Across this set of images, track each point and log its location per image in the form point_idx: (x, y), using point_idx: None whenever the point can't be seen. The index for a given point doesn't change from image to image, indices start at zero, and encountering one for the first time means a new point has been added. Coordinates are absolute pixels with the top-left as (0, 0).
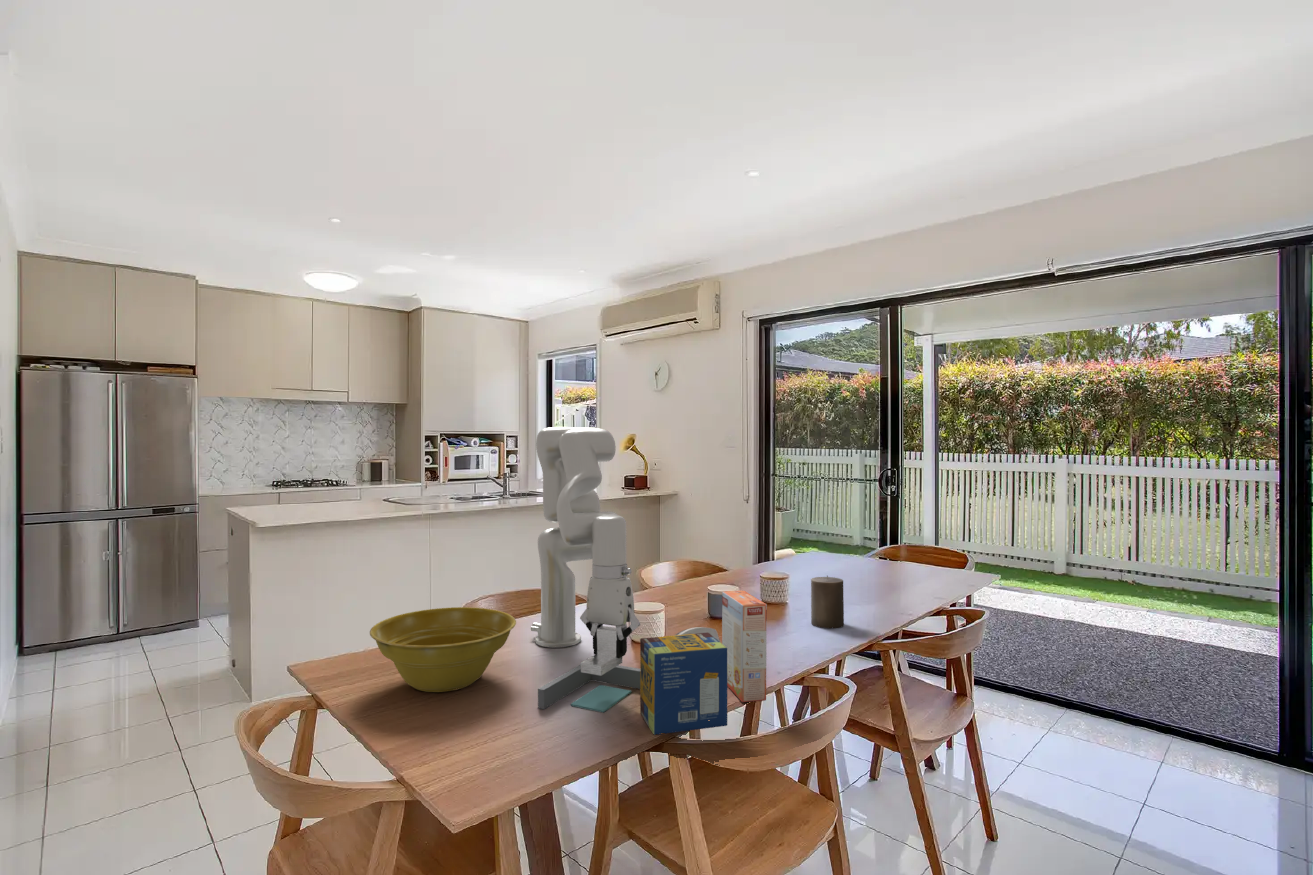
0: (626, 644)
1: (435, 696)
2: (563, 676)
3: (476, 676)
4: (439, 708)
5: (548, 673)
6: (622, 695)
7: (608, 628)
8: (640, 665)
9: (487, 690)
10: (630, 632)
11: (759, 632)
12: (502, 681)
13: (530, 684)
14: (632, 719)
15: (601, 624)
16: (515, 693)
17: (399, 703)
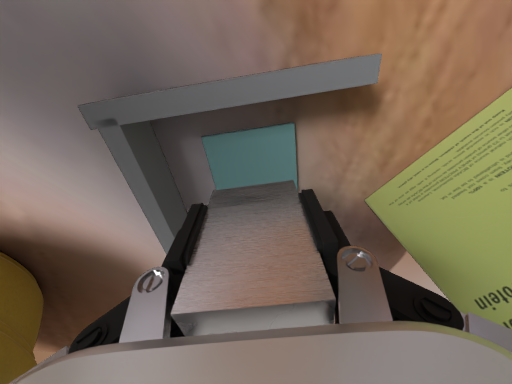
0: (340, 231)
1: (49, 302)
2: (166, 238)
3: (23, 282)
4: (100, 314)
5: (23, 141)
6: (291, 160)
7: (248, 327)
8: (438, 287)
9: (66, 261)
10: (408, 291)
11: None
12: (29, 227)
13: (80, 210)
14: (358, 222)
15: (167, 334)
16: (111, 248)
17: (52, 325)
